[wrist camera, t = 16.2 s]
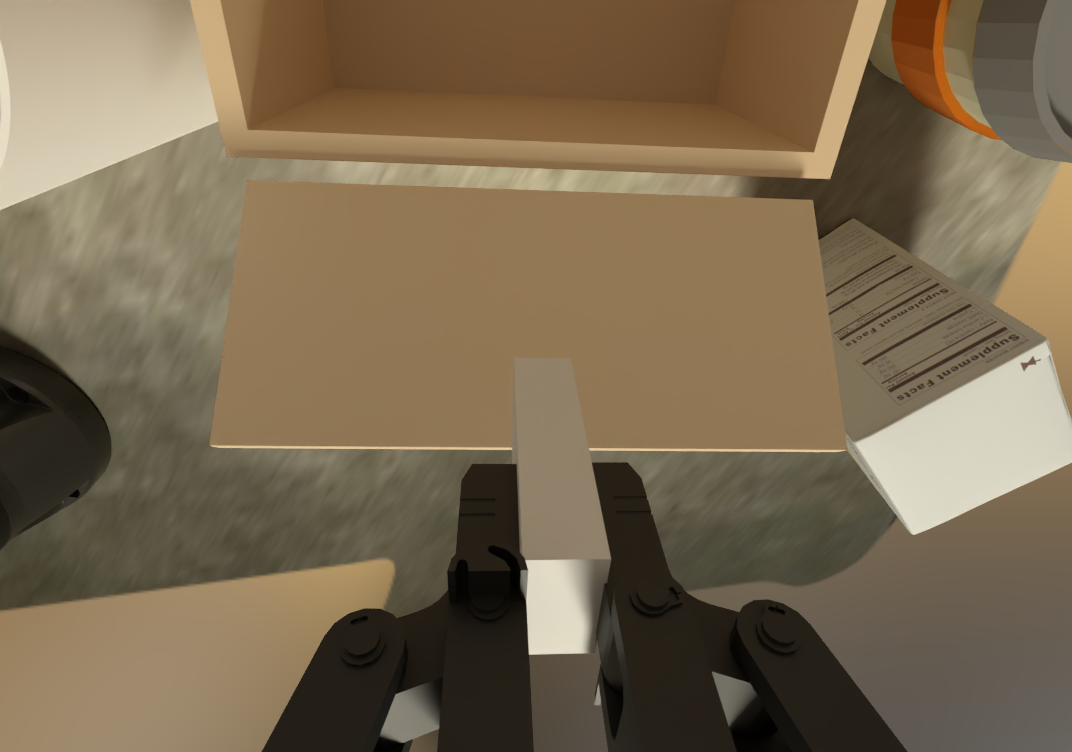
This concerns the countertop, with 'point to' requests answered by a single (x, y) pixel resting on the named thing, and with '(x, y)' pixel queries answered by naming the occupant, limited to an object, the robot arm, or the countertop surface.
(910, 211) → the countertop surface
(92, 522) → the countertop surface
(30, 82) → the canister
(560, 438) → the robot arm
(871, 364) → the supplement box
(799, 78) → the carton
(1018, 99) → the reusable coffee cup
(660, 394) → the flap
